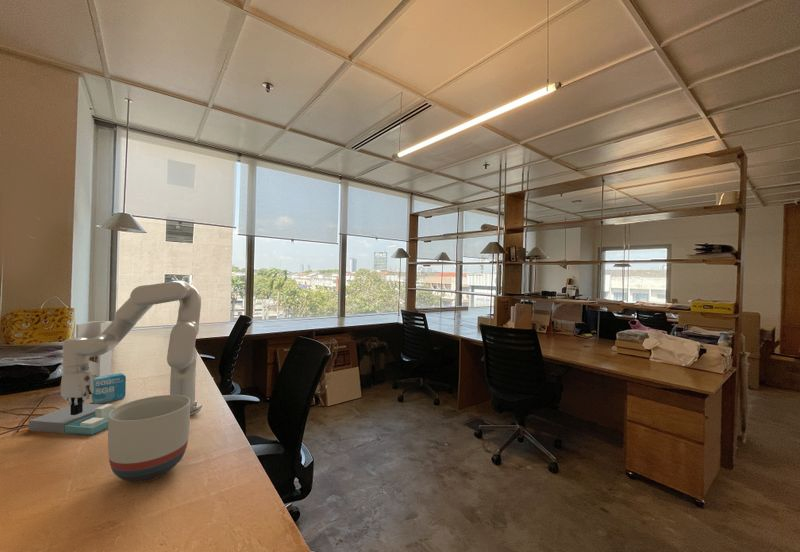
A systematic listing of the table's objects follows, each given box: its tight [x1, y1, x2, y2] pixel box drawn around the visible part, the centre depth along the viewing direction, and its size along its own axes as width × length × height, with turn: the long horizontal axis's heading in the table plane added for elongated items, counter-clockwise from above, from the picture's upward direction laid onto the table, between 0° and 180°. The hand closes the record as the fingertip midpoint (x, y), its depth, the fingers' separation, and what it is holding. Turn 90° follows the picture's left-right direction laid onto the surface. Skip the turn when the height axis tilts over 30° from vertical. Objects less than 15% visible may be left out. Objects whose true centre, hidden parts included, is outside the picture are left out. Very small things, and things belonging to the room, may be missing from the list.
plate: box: [27, 402, 104, 434], centre depth 137 cm, size 16×18×4 cm
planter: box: [107, 394, 191, 483], centre depth 102 cm, size 20×20×21 cm
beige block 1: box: [80, 417, 105, 427], centre depth 131 cm, size 5×5×3 cm
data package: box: [91, 372, 127, 404], centre depth 161 cm, size 12×4×12 cm, turn 139°
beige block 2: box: [95, 403, 114, 419], centre depth 140 cm, size 5×5×3 cm
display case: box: [75, 320, 113, 379], centre depth 180 cm, size 11×11×35 cm
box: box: [64, 407, 116, 437], centre depth 135 cm, size 12×18×3 cm, turn 174°
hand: (76, 413), depth 132 cm, fingers closed
